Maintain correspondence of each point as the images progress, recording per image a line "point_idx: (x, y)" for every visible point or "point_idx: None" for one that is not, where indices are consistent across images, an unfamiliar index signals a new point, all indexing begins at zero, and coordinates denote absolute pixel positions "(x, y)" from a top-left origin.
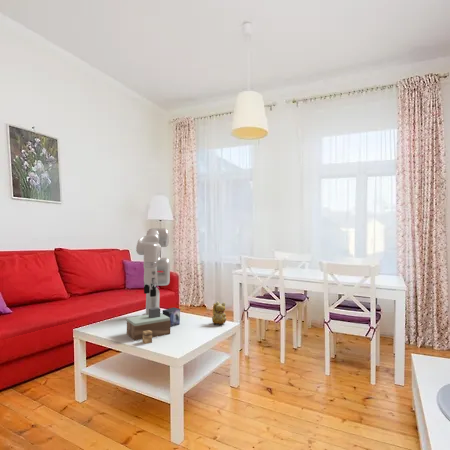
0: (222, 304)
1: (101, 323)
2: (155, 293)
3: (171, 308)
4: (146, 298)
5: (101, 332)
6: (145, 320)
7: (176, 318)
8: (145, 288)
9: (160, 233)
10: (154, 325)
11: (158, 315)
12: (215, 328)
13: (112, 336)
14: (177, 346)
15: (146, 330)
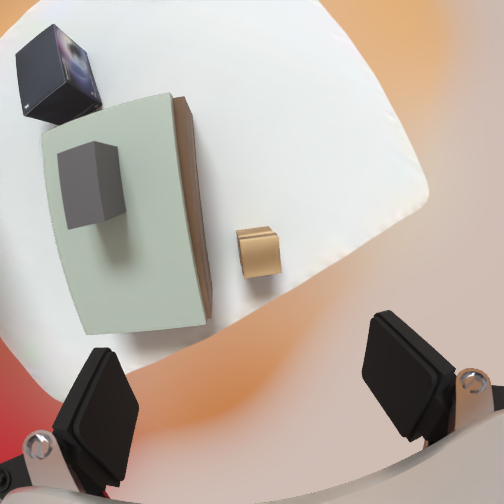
0: None
1: (6, 337)
2: (408, 334)
3: (23, 65)
4: None
5: (83, 363)
6: (163, 257)
7: (78, 55)
8: (119, 455)
9: None
10: (195, 201)
11: (115, 158)
12: None
13: (131, 346)
14: (358, 150)
15: (243, 258)
